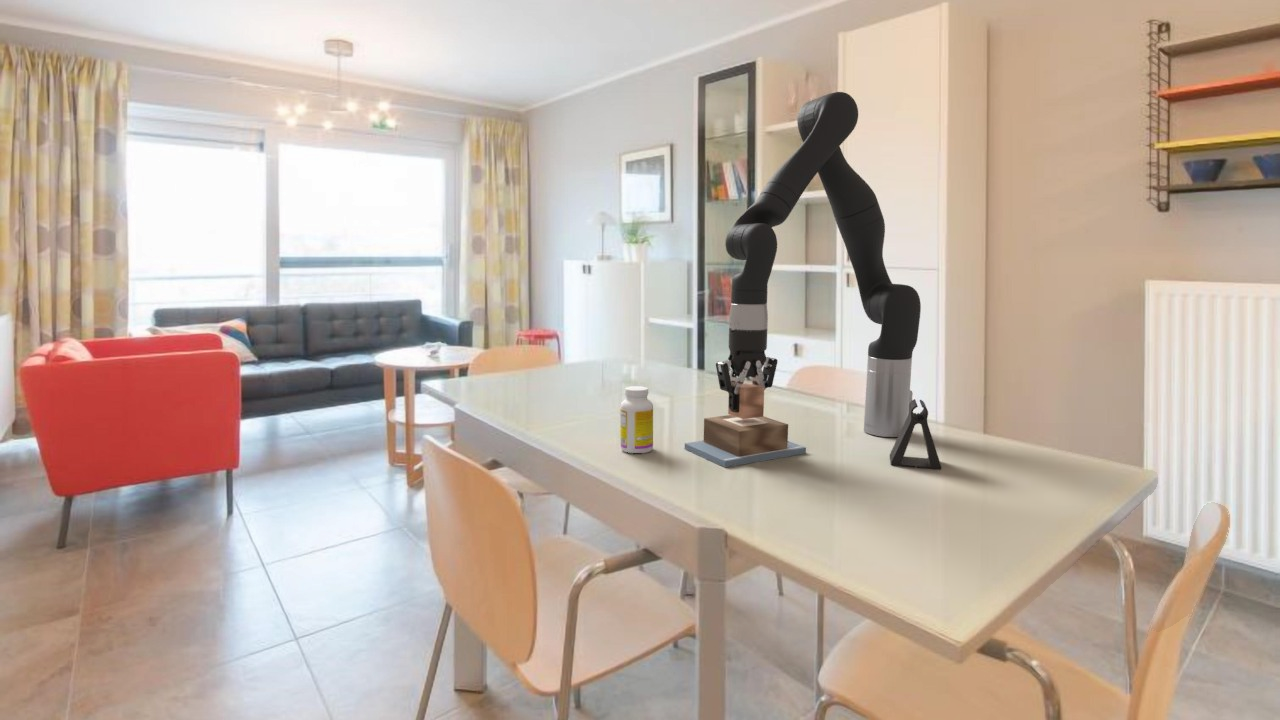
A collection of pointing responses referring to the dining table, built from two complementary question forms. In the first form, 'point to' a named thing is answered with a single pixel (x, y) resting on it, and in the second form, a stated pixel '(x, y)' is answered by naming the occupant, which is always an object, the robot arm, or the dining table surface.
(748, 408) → the terracotta block
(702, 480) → the dining table surface
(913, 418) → the phone stand
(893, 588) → the dining table surface
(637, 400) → the supplement bottle
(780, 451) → the base
